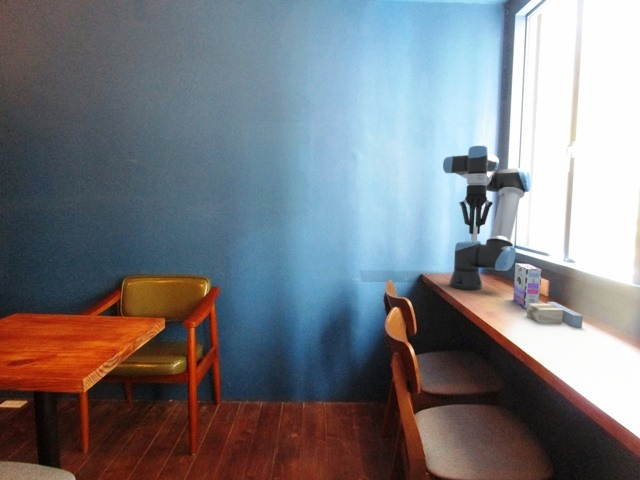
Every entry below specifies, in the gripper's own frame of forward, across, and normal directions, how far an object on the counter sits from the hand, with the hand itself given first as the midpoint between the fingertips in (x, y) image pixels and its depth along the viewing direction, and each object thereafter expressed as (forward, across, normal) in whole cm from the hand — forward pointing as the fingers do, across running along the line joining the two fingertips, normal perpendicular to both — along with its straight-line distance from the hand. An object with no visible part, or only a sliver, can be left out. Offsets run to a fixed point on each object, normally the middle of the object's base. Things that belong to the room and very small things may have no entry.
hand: (473, 241), depth 150 cm
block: (+26, +19, -20) cm, 38 cm away
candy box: (+27, +22, 0) cm, 35 cm away
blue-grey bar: (+26, +26, -19) cm, 42 cm away
